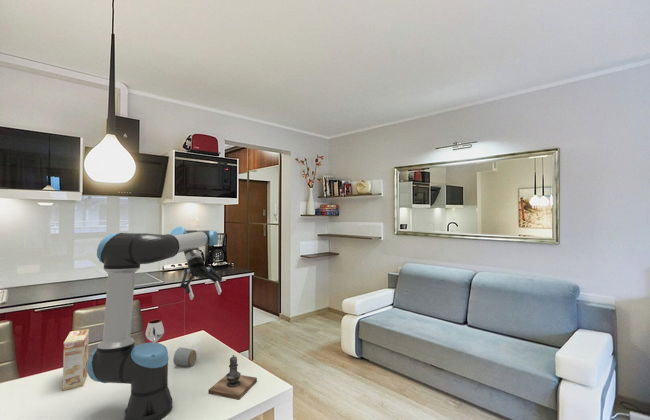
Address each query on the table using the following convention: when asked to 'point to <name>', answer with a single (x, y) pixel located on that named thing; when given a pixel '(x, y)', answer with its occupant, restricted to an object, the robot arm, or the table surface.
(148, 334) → the wineglass
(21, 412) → the table surface
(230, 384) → the weathered metal finial
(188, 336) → the table surface
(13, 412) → the table surface
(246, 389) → the walnut board
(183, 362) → the ceramic mug
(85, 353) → the coffeecake box
